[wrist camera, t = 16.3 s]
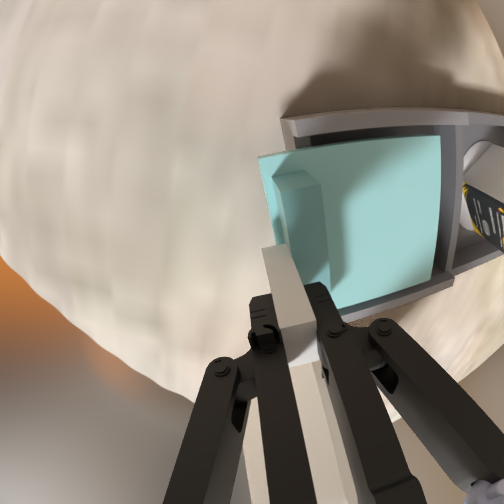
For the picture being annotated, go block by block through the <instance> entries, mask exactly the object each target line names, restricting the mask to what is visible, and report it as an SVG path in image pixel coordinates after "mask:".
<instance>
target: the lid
mask: <svg viewBox="0 0 504 504" xmlns="http://www.w3.org/2000/svg"><path fill="white" fill-rule="evenodd" d="M257 159H258V163H259V168H260V172H261V177H262V182H263V186H264V191H265V195H266V200H267V205H268V210H269V214H270V219H271V224H272V229H273V234H274V239H275V244H276V245H280V244H285V243H286V244H287V246H288V249H289V251H290V254H291V256H292V258H293V261H294V263H295V266H296V268H297V271H298V274H299V276H300V279H301V281H302V284H303V285H306V284H310V283H315V282H319V281H320V282H321V283H322V284H324V285H325V286H326V287H327V289H328V291H329V294H330V295H331V297H332V300H333V301H334V304H335V306H336V308H337V309H340V308H343V307H347V306H351V305H354V304H357V303H361V302H364V301H368V300H371V299H374V298H377V297H381V296H384V295H387V294H390V293H393V292H396V291H399V290H402V289H405V288H408V287H411V286H414V285H417V284H420V283H423V282H426V281H428V280H430V278H431V273H432V267H433V261H434V254H435V247H436V240H437V231H438V222H439V209H440V192H441V144H440V136H439V135H436V134H420V135H404V136H391V137H380V138H370V139H361V140H352V141H345V142H337V143H330V144H324V145H317V146H311V147H305V148H299V149H294V150H289V151H283V152H278V153H273V154H268V155H263V156H259V157H257Z"/></svg>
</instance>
